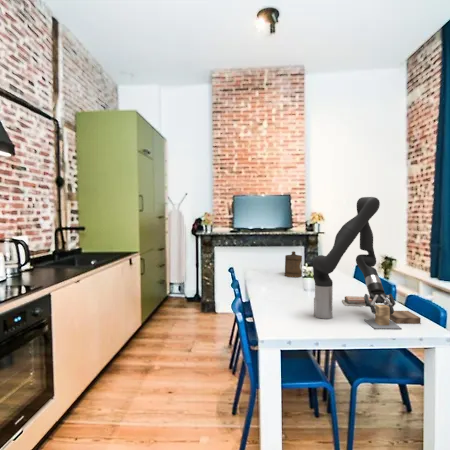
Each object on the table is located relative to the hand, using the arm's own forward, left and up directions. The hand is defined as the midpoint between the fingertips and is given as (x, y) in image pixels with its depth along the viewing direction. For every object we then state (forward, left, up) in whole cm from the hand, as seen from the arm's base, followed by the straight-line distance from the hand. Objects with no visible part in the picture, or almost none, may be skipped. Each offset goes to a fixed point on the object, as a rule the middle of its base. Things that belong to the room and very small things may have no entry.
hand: (383, 313), depth 165 cm
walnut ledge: (+14, +9, -6) cm, 18 cm away
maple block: (0, +1, -6) cm, 6 cm away
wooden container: (-23, +128, -7) cm, 131 cm away
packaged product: (+2, +39, -7) cm, 39 cm away
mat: (0, +1, -6) cm, 6 cm away
